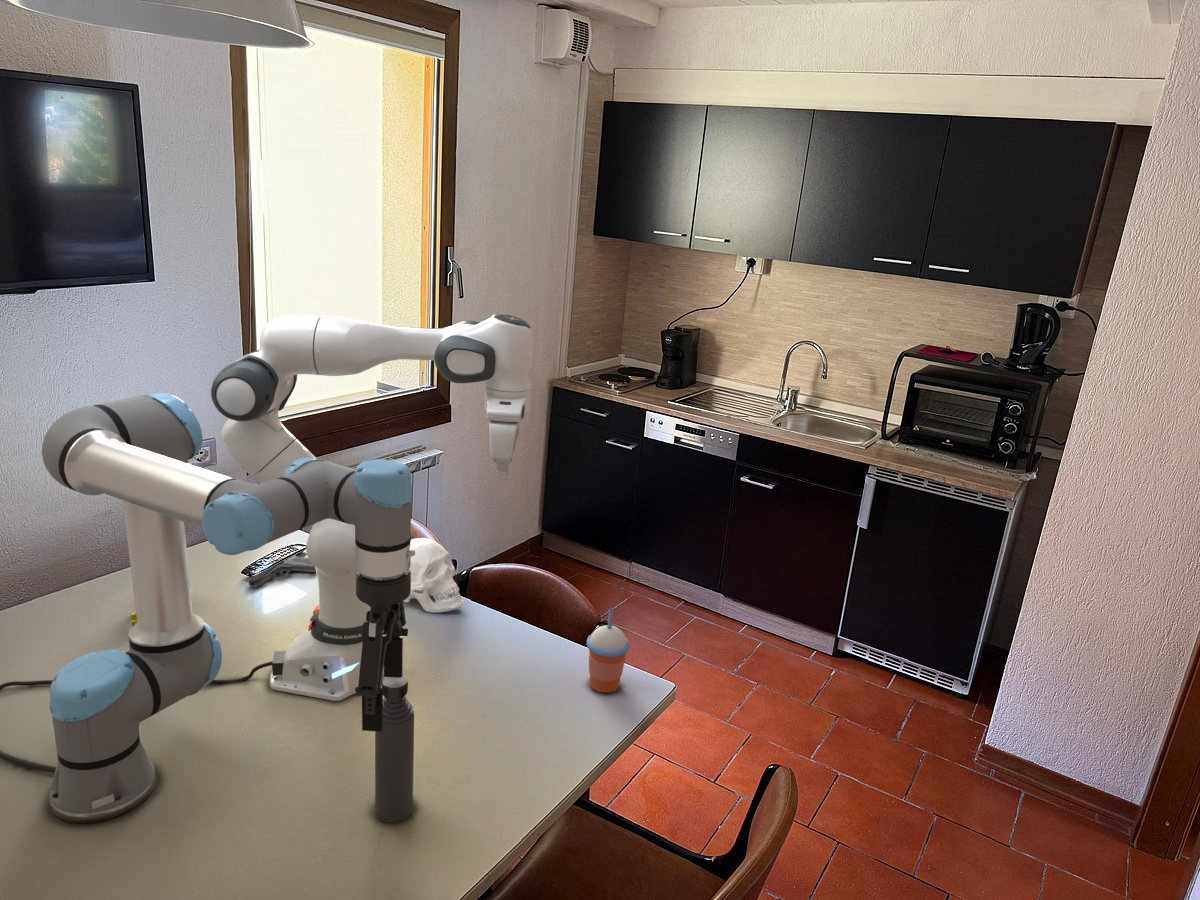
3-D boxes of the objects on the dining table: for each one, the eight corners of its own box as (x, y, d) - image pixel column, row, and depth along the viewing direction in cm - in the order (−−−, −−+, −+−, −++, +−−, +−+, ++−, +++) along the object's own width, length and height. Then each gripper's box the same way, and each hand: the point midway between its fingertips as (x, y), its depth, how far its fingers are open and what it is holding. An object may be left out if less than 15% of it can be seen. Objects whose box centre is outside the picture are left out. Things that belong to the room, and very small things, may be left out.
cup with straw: (621, 700, 178) (628, 623, 173) (578, 692, 180) (585, 616, 174) (628, 677, 187) (636, 603, 181) (588, 670, 188) (594, 596, 183)
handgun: (292, 594, 211) (247, 586, 213) (325, 565, 228) (283, 558, 229) (291, 586, 211) (246, 578, 212) (325, 557, 227) (283, 550, 229)
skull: (448, 622, 203) (451, 561, 199) (372, 599, 211) (374, 540, 207) (477, 602, 215) (480, 543, 211) (405, 581, 223) (406, 524, 219)
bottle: (414, 819, 141) (416, 692, 134) (376, 825, 139) (375, 695, 132) (411, 794, 147) (413, 670, 140) (374, 799, 145) (374, 674, 138)
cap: (408, 698, 135) (408, 686, 135) (382, 701, 134) (382, 689, 133) (406, 684, 139) (406, 672, 138) (381, 686, 138) (381, 675, 137)
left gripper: (391, 614, 108) (390, 756, 114) (426, 536, 131) (424, 657, 138) (331, 610, 107) (333, 753, 114) (377, 533, 131) (377, 655, 137)
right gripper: (496, 387, 172) (494, 452, 176) (485, 413, 153) (482, 486, 157) (528, 390, 172) (524, 455, 176) (520, 416, 153) (516, 488, 157)
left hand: (383, 701), depth 126 cm, fingers open, 13 cm apart
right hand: (504, 470), depth 166 cm, fingers open, 8 cm apart
